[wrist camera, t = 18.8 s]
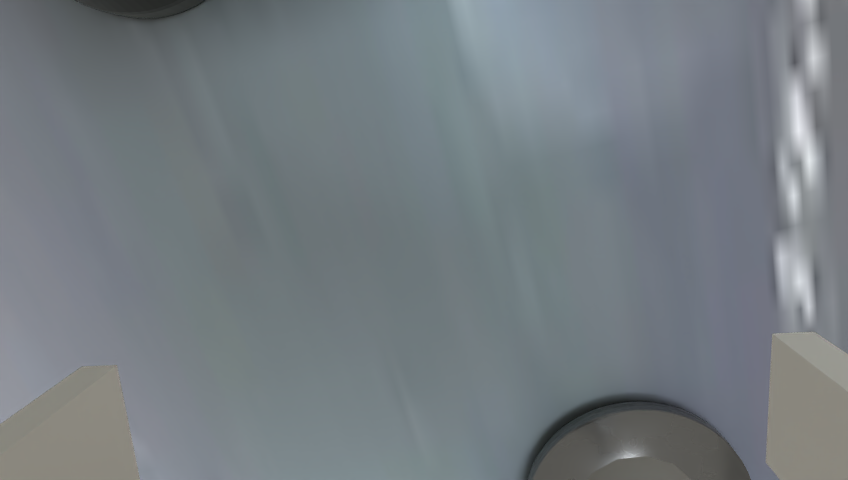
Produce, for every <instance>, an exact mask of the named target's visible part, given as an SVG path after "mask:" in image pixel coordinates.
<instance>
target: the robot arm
mask: <svg viewBox="0 0 848 480" xmlns="http://www.w3.org/2000/svg"><path fill="white" fill-rule="evenodd" d="M75 1H77V2H79V3H81V4H84V5H86V6H89V7H91V8H94V9H97V10H101V11H105V12H109V13H113V14H117V15H121V16H126V17H133V18H160V17H166V16H170V15H174V14H178V13H181V12H183V11H186V10H188V9H190V8H192V7H194V6H196V5H198V4H200V3H201V2H203V1H205V0H75ZM766 463H767V464H768V466H769V467H770V468H771V469H772V470H773V472H774V473H775V474H776V475H777V476H778V478H779V479H780V480H848V354H847V353H845V352H844V351H842V350H841V349H839V348H838V347H836V346H835V345H833V344H832V343H830V342H829V341H827V340H826V339H824V338H823V337H821V336H820V335H818V334H817V333H815V332H800V333H779V334H772V351H771V371H770V390H769V410H768V430H767V450H766ZM0 480H140V478H139V473H138V468H137V463H136V458H135V453H134V448H133V443H132V438H131V433H130V428H129V423H128V418H127V413H126V408H125V403H124V399H123V394H122V389H121V384H120V379H119V374H118V369H117V365H107V366H86V367H81V368H79V369H78V370H76V371H75V372H74V373H72V374H71V375H69V376H68V377H66V378H65V379H64V380H62V381H61V382H59V383H58V384H57V385H55V386H54V387H52V388H51V389H49V390H48V391H47V392H45V393H44V394H42V395H41V396H40V397H38V398H37V399H35V400H34V401H32V402H31V403H30V404H28V405H27V406H25V407H24V408H23V409H21V410H20V411H18V412H17V413H15V414H14V415H13V416H11V417H10V418H8V419H7V420H6V421H4V422H3V423H1V424H0Z"/></svg>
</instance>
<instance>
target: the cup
mask: <svg viewBox="0 0 848 480" xmlns="http://www.w3.org/2000/svg"><path fill="white" fill-rule="evenodd" d="M588 480H691V479H690V478H689V477H687V476H686V475H685V474H684V473H683V472H682V471H681V470H680V469H679V468H677V467H676V466H675V465H674V464H671V463H668V462H664V461H661V460H658V459H655V458H651V457H648V456H643V457H633V458H624V459H617V460H615V461H613V462H611V463H610V464H608V465H606V466H604V467H602V468H600V469H599V470H597V471H595V472H593V473H592V474H591V476H590V477H589V479H588Z"/></svg>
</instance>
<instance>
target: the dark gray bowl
mask: <svg viewBox="0 0 848 480" xmlns="http://www.w3.org/2000/svg"><path fill="white" fill-rule="evenodd" d="M643 456H648V457H651V458H655V459H658V460H661V461H664V462H668V463H671V464H674V465H675V466H676V467H677V468H679V469H680V470H681V471H682V472H683V473H684V474H685V475H686V476H687V477H689V478H690V479H691V480H751V479H750V476H749V474H748V471H747V470H746V468H745V466H744V464H743V462H742V460H741V459H740V458H739V456H738V455H737V454H736V452H735V451H734V450H733V448H732V447H731V446H730V445H729V443H728V442H727V441H726V439H725V438H724V437H723V436H722V435H721V434H720V433H719V432H718V431H717V430H716V429H715V428H714V427H712V426H711V425H710V424H708V423H707V422H706V421H704V420H703V419H701V418H699V417H697V416H696V415H694V414H692V413H690V412H687V411H685V410H682V409H680V408H677V407H673V406H669V405H666V404H660V403H653V402H625V403H617V404H612V405H608V406H604V407H601V408H598V409H595V410H592V411H589V412H587V413H585V414H583V415H581V416H579V417H577V418H575V419H574V420H572V421H571V422H569V423H568V424H566V425H565V426H564V427H562V428H561V429H560V430H559V431H558V432H556V433H555V434H554V435H553V436H552V437H551V438H550V440H549V441H548V442H547V443H546V444H545V445H544V447H543V448H542V449H541V451H540V452H539V454H538V455H537V457H536V459H535V461H534V463H533V465H532V467H531V470H530V473H529V476H528V479H527V480H588V479H589V477H590V476H591V474H592V473H593V472H595V471H597V470H599V469H600V468H602V467H604V466H606V465H608V464H610V463H611V462H613V461H615V460H617V459H624V458H633V457H643Z"/></svg>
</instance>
